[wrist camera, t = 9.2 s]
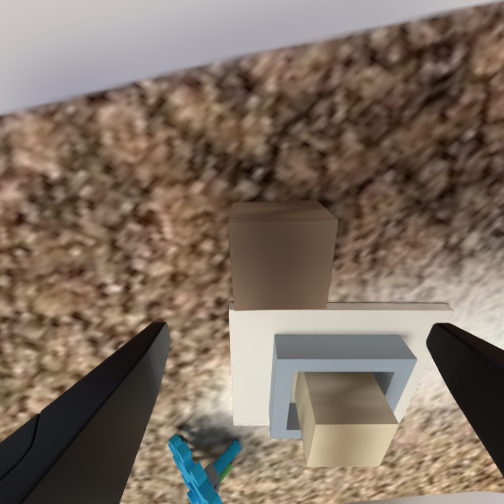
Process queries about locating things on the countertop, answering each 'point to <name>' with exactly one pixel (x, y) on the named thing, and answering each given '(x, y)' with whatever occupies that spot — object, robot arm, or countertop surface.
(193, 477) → the gear
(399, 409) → the board
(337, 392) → the maple cube
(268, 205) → the walnut block
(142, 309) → the countertop surface
